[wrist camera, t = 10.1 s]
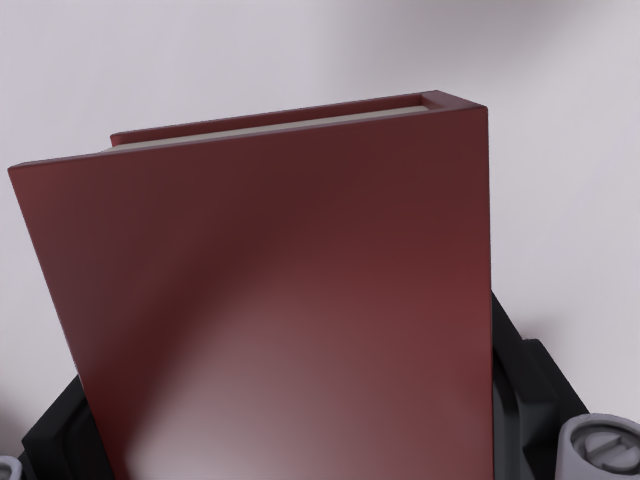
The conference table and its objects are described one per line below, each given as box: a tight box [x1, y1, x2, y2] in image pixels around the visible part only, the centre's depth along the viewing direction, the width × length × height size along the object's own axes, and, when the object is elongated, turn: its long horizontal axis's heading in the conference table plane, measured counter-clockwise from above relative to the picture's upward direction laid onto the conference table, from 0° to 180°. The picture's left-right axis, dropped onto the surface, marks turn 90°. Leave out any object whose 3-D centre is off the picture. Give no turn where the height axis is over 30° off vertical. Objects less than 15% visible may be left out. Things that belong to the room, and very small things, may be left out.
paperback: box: [8, 90, 495, 480], centre depth 10 cm, size 6×11×4 cm, turn 8°
